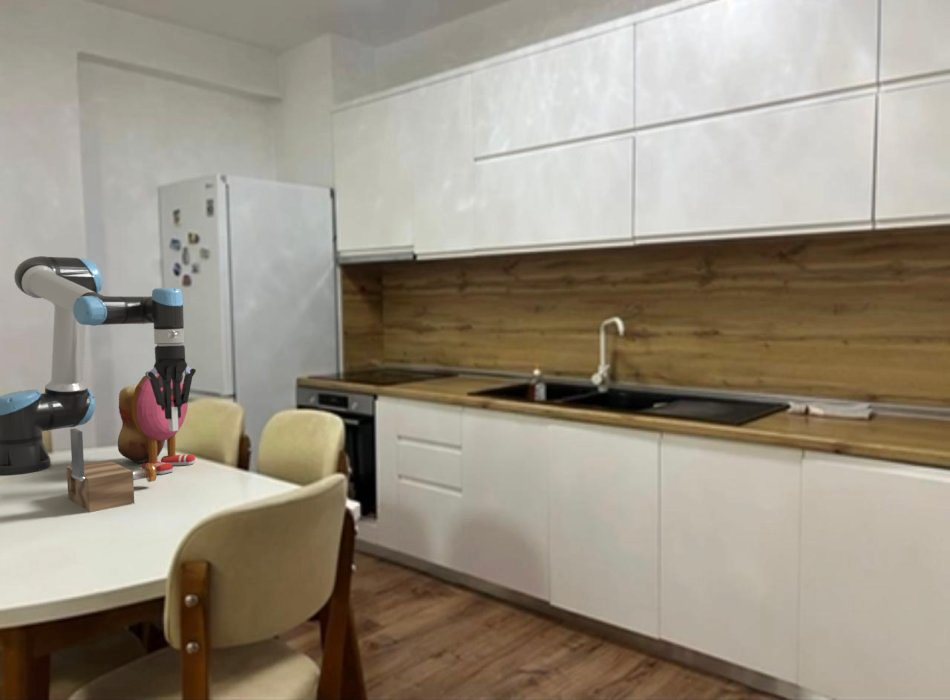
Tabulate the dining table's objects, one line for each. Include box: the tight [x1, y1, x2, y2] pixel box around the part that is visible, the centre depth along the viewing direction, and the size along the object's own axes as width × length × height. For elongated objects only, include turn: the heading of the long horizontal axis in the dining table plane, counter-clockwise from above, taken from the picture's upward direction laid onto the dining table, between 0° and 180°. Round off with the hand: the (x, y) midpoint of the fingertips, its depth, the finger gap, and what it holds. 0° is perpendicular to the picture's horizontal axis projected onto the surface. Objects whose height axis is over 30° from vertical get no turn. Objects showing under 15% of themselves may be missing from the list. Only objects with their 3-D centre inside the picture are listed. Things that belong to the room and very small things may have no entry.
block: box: [66, 460, 135, 513], centre depth 171 cm, size 18×10×8 cm, turn 45°
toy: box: [132, 373, 196, 475], centre depth 204 cm, size 21×10×30 cm, turn 168°
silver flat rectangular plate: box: [69, 428, 86, 482], centre depth 163 cm, size 7×1×12 cm, turn 45°
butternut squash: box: [117, 383, 166, 464], centre depth 213 cm, size 14×13×25 cm
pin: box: [131, 463, 157, 483], centre depth 178 cm, size 15×5×5 cm, turn 135°
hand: (173, 430), depth 187 cm, fingers closed
